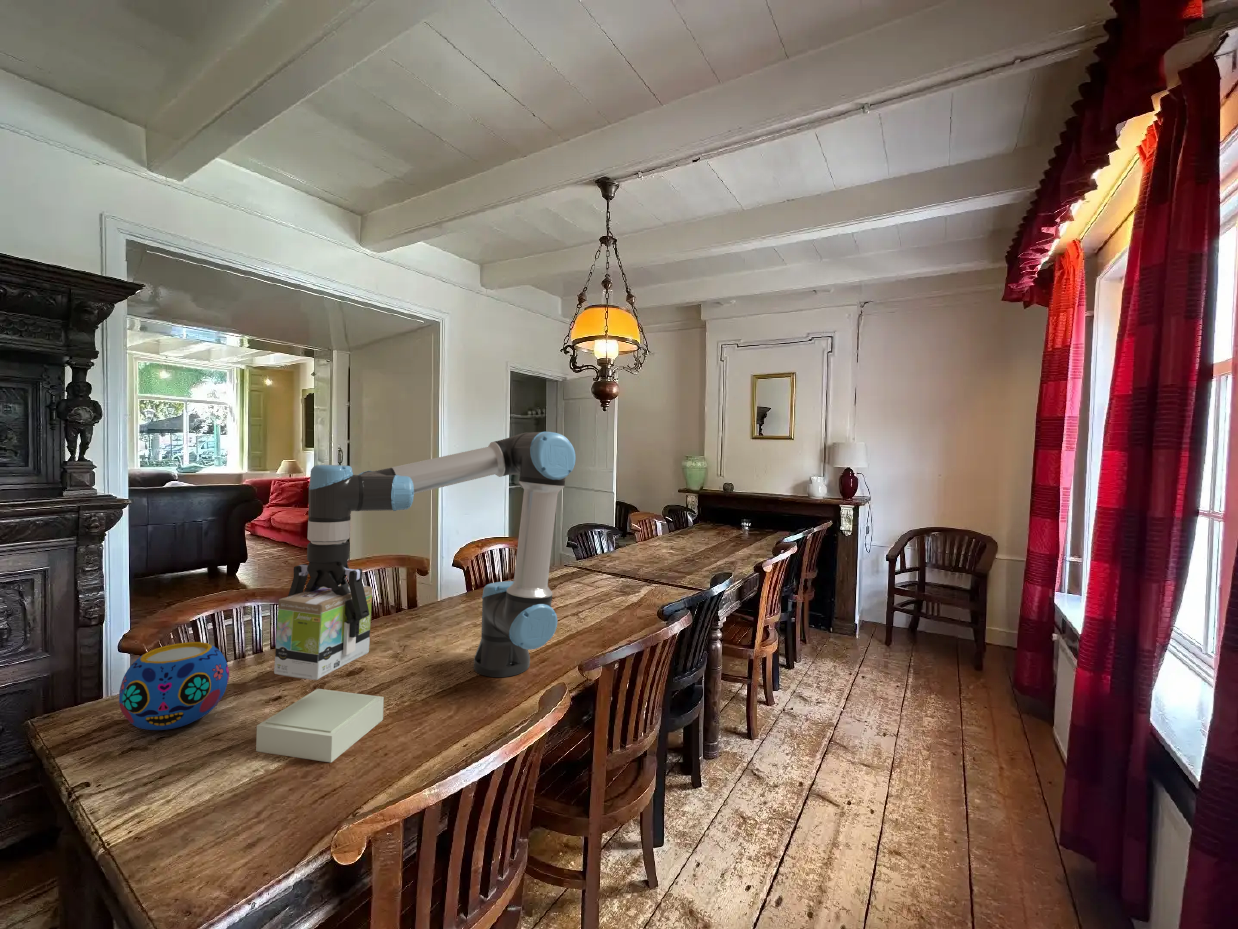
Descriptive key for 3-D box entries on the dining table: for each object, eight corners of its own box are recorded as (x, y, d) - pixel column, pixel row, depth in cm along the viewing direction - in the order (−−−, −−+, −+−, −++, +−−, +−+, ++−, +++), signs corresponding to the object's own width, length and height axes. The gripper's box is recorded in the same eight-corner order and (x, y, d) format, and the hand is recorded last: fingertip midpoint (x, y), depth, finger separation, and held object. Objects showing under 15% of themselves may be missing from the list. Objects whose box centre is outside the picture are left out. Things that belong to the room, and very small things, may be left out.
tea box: (318, 682, 98) (321, 604, 97) (272, 675, 100) (275, 598, 99) (371, 652, 112) (373, 584, 112) (330, 647, 114) (332, 580, 114)
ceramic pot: (101, 755, 97) (102, 675, 96) (135, 711, 112) (137, 642, 112) (218, 735, 105) (220, 661, 104) (235, 696, 121) (236, 632, 120)
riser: (383, 719, 113) (383, 695, 113) (331, 762, 97) (331, 734, 97) (317, 711, 116) (317, 687, 116) (256, 751, 100) (256, 724, 100)
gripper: (391, 542, 107) (387, 648, 108) (293, 534, 111) (290, 637, 112) (368, 548, 100) (364, 663, 101) (264, 540, 104) (261, 650, 104)
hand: (325, 649), depth 106 cm, fingers closed on tea box, 10 cm apart
